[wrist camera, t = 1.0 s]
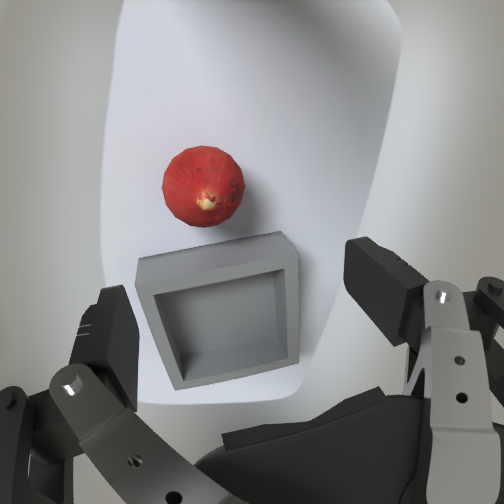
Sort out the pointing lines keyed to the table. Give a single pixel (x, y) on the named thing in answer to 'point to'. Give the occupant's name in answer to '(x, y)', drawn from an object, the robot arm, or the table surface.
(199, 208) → the pomegranate
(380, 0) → the table surface
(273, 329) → the box
